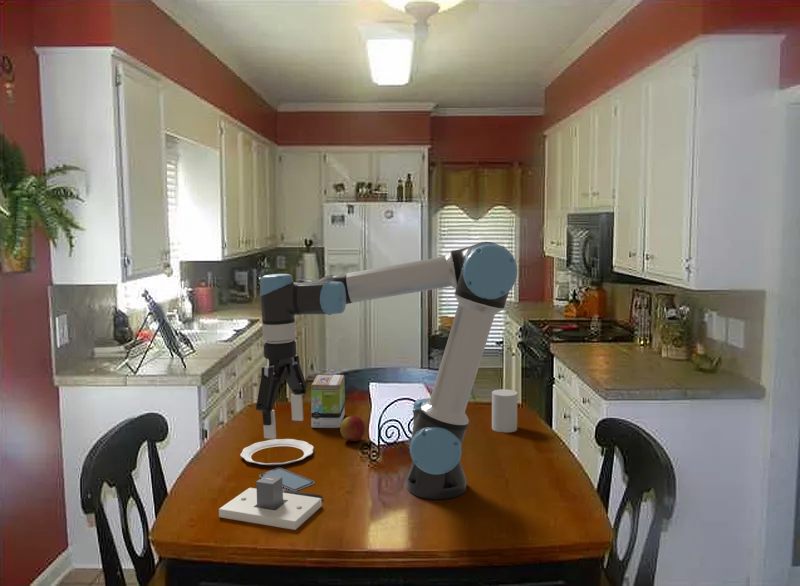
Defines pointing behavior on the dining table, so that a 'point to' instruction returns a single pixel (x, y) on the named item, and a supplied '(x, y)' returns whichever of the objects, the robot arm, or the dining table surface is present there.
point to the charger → (269, 492)
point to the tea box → (327, 401)
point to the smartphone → (290, 479)
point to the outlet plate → (285, 516)
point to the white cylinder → (504, 410)
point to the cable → (302, 494)
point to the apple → (352, 428)
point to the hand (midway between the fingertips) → (284, 428)
